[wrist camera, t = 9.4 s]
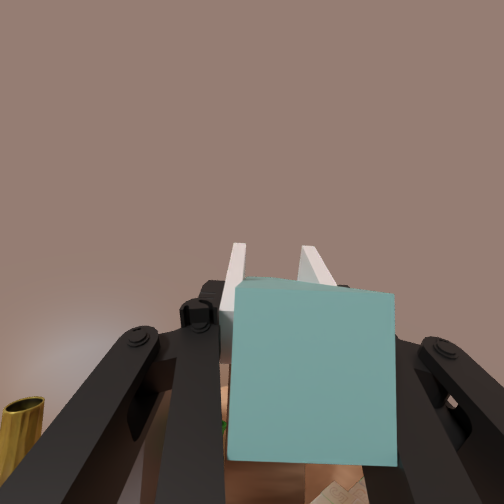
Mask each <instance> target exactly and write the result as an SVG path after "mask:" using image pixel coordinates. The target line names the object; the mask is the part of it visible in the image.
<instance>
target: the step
mask: <svg viewBox="0 0 504 504" xmlns="http://www.w3.org/2000/svg"><path fill="white" fill-rule="evenodd" d="M171 393H172V389H171V390H168V391H166V392H165V394H164V396H163V399H162V401H161V403H160V405H159V408H158V410H157V412H156V415H155V417H154V419H153V422H152V424H151V426H150V429H149V431H148V433H147V436H146V438H145V440H144V442H143V445H142V447H141V449H140V452H139V454H138V456H137V459H136V461H135V463H134V466H133V468H132V470H131V473H130V475H129V477H128V479H127V482H126V484H125V486H124V489H123V491H122V493H121V496H120V498H119V500H118V503H117V504H155V497H156V491H157V484H158V478H159V471H160V465H161V458H162V452H163V445H164V439H165V432H166V425H167V419H168V412H169V406H170V399H171Z"/></svg>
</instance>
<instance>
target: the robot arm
mask: <svg viewBox="0 0 504 504" xmlns="http://www.w3.org/2000/svg"><path fill="white" fill-rule="evenodd" d="M245 259H246V243H234V245H233V249H232V254H231V258H230V263H229V268H228V272H227V276H226V281H216V280H209V281H208V282H206V283H205V284H204V285H203V286H202V289H201V292H200V294H199V297H198V298H195V299H191V300H189V301H186V302H185V303H184V304H183V305H182V306H181V308H180V318H181V328H180V329H178V330H175V331H171V332H167V333H162V334H158V331H157V330H156V329H155V328H154V327H150V326H139V327H135V328H132V329H130V330H128V331H127V332H125V333H124V334H123V335H122V336H121V337H120V338H119V339H118V340H117V341H116V343H115V344H114V345H113V346H112V348H111V349H110V350H109V352H108V353H107V354H106V355H105V357H104V358H103V359H102V360H101V361H100V363H99V364H98V365H97V367H96V368H95V369H94V370H93V372H92V373H91V374H90V375H89V377H88V378H87V379H86V380H85V382H84V383H83V384H82V385H81V387H80V388H79V389H78V390H77V392H76V393H75V394H74V395H73V397H72V398H71V399H70V400H69V402H68V403H67V404H66V405H65V407H64V408H63V409H62V410H61V412H60V413H59V414H58V415H57V417H56V418H55V419H54V421H53V422H52V423H51V424H50V426H49V427H48V428H47V429H46V431H45V432H44V433H43V434H42V436H41V437H40V438H39V439H38V441H37V442H36V443H35V444H34V446H33V447H32V448H31V449H30V451H29V452H28V453H27V454H26V456H25V457H24V458H23V459H22V461H21V462H20V463H19V464H18V466H17V467H16V468H15V469H14V471H13V472H12V473H11V475H10V476H9V477H8V478H7V480H6V481H5V482H4V483H3V485H2V486H1V487H0V504H117V503H118V500H119V498H120V496H121V493H122V491H123V489H124V486H125V484H126V482H127V479H128V477H129V475H130V473H131V470H132V468H133V466H134V463H135V461H136V459H137V456H138V454H139V452H140V449H141V447H142V445H143V442H144V440H145V438H146V436H147V433H148V431H149V429H150V426H151V424H152V422H153V419H154V417H155V415H156V412H157V410H158V408H159V405H160V403H161V401H162V399H163V396H164V394H165V392H166V391H168V390H171V389H172V393H171V399H170V406H169V412H168V419H167V425H166V432H165V439H164V445H163V452H162V458H161V465H160V471H159V478H158V484H157V491H156V497H155V504H226V501H225V479H224V457H223V434H222V412H221V390H220V370H219V369H220V367H219V361H220V363H221V364H231V362H232V341H233V320H234V300H235V287H236V286H237V285H238V284H240V283H241V282H242V281H243V280H244V279H245ZM297 281H302V282H309V283H316V284H324V285H332V286H339V287H346V288H350V287H348V286H347V285H336V283H335V281H334V279H333V278H332V276H331V274H330V272H329V271H328V269H327V267H326V265H325V264H324V262H323V260H322V259H321V257H320V255H319V254H318V252H317V250H316V249H315V247H314V246H302V251H301V257H300V264H299V271H298V279H297ZM395 364H396V422H397V467H395V466H368V465H362V468H363V474H364V479H365V484H366V489H367V495H368V500H369V504H504V388H503V387H502V386H501V385H500V384H499V383H498V382H497V381H496V380H495V379H494V378H492V377H491V376H490V375H489V374H488V373H487V372H486V371H485V370H484V369H483V368H482V367H481V366H479V365H478V364H477V363H476V362H475V361H474V360H473V359H472V358H471V357H470V356H469V355H467V354H466V353H465V352H464V351H463V350H462V349H460V348H459V347H458V346H456V345H455V344H453V343H451V342H449V341H447V340H445V339H442V338H439V337H431V336H430V337H425V339H423V341H422V343H421V345H418V344H415V343H411V342H407V341H403V340H400V339H398V337H397V336H396V334H395ZM450 395H451V396H452V397H453V398H454V399H455V401H456V402H457V403H458V406H457V407H456V408H455V407H453V406H452V405H451V404H450V403H449V402H448V401H447V399H448V398H449V396H450Z"/></svg>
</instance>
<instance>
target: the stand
mask: <svg viewBox="0 0 504 504" xmlns="http://www.w3.org/2000/svg"><path fill="white" fill-rule="evenodd" d="M230 383H231V364H229V383H228V403H227V423H226V444H225V465H224V479H225V501H226V504H304V492H305V463H288V462H261V461H234V460H227V445H228V425H229V404H230Z"/></svg>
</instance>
